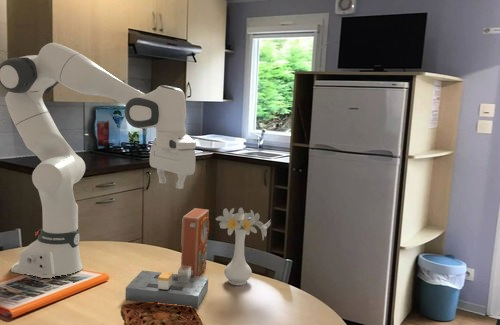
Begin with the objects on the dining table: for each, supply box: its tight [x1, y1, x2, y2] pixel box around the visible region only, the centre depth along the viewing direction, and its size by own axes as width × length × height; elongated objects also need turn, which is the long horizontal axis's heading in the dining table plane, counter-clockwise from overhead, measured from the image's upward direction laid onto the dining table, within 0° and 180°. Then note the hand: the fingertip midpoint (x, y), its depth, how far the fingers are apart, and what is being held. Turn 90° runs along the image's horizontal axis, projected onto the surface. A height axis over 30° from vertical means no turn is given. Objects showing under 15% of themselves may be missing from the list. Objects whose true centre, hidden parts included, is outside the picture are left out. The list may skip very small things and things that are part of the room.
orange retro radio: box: [180, 207, 210, 277], centre depth 163 cm, size 21×7×15 cm
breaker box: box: [125, 265, 209, 310], centre depth 144 cm, size 22×14×8 cm, turn 83°
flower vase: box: [215, 207, 272, 286], centre depth 156 cm, size 13×18×25 cm
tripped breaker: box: [158, 271, 174, 290], centre depth 141 cm, size 3×4×4 cm
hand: (171, 185), depth 143 cm, fingers open, 8 cm apart
